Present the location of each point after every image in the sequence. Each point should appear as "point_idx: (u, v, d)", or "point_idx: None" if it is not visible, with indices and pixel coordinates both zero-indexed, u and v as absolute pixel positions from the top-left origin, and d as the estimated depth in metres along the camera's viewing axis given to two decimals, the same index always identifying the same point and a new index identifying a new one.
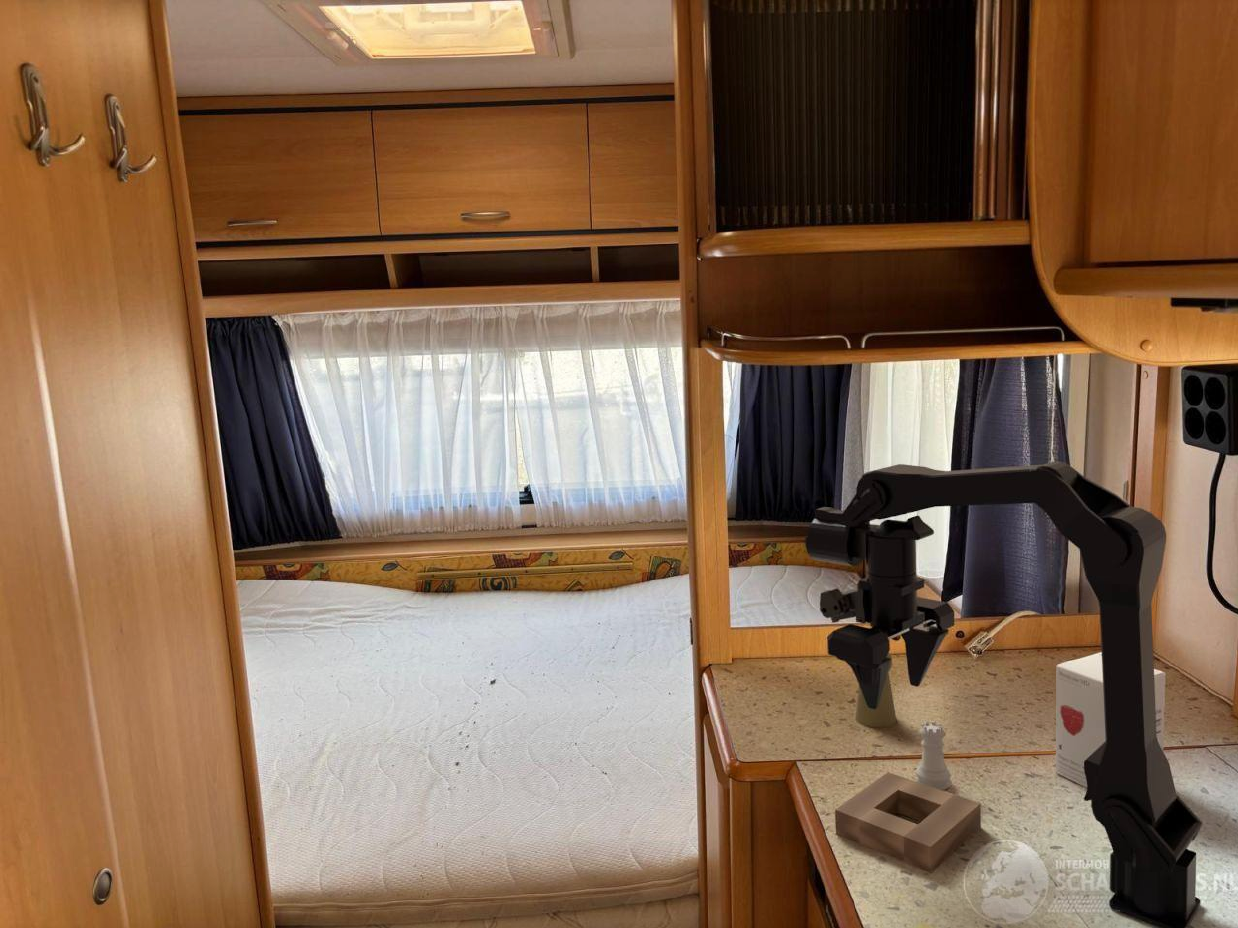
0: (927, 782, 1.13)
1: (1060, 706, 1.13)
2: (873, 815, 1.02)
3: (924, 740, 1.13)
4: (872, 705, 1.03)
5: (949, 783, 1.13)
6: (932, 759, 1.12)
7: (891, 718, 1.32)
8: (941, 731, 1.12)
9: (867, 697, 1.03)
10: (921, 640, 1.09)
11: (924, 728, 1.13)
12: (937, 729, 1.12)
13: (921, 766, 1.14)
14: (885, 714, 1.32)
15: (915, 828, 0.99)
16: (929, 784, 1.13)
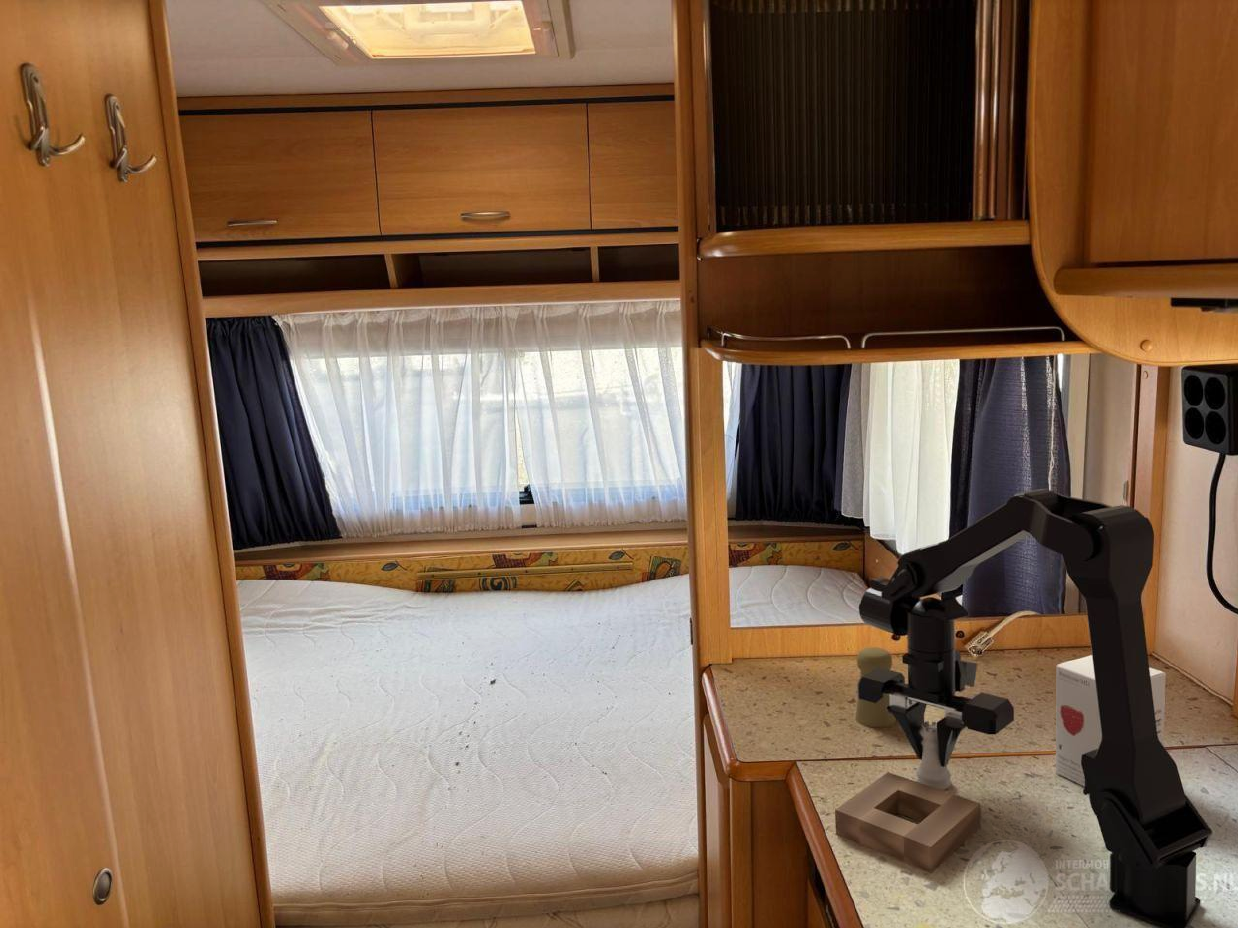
0: (927, 782, 1.13)
1: (1060, 706, 1.13)
2: (873, 815, 1.02)
3: (924, 740, 1.13)
4: None
5: (949, 783, 1.13)
6: (932, 759, 1.12)
7: (891, 718, 1.32)
8: None
9: None
10: None
11: (924, 728, 1.13)
12: None
13: (921, 766, 1.14)
14: (886, 714, 1.32)
15: (915, 828, 0.99)
16: (929, 784, 1.13)
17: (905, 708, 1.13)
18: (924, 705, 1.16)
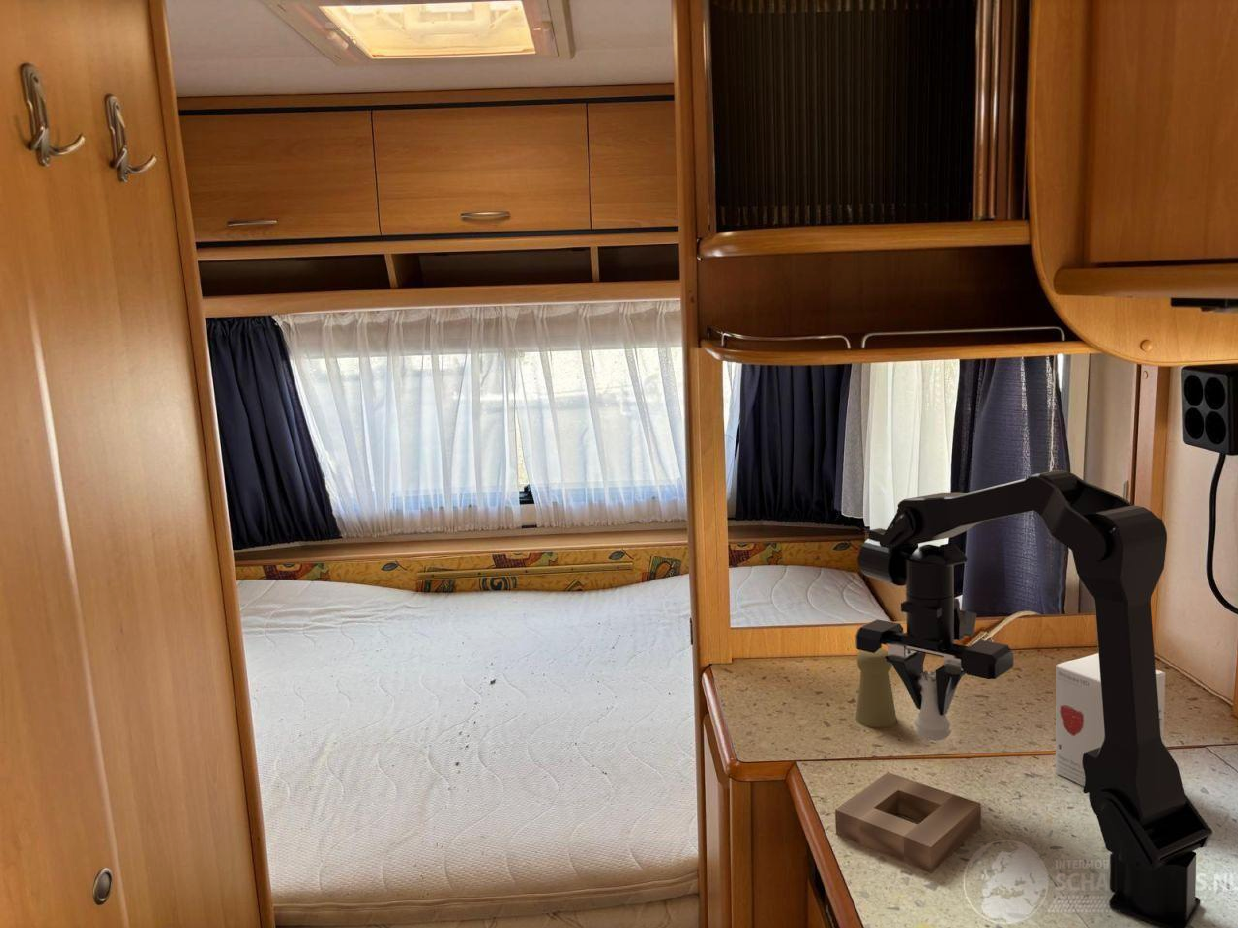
0: (925, 731, 1.12)
1: (1060, 706, 1.13)
2: (873, 815, 1.02)
3: (923, 689, 1.12)
4: None
5: (948, 732, 1.12)
6: (931, 708, 1.12)
7: (891, 718, 1.32)
8: None
9: None
10: None
11: (923, 677, 1.12)
12: None
13: (920, 716, 1.13)
14: (885, 714, 1.32)
15: (915, 828, 0.99)
16: (928, 733, 1.12)
17: (904, 657, 1.13)
18: (923, 655, 1.15)
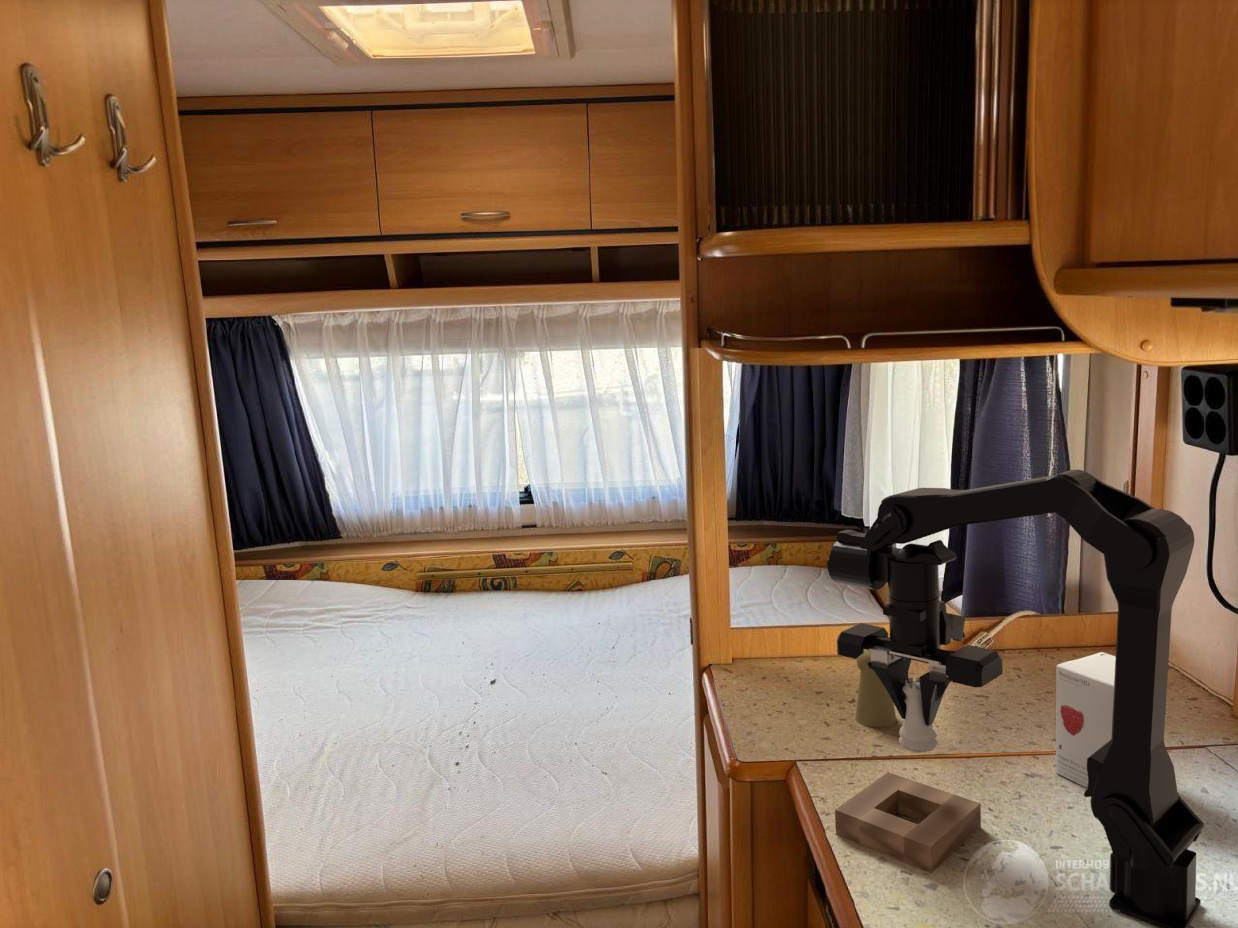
0: (910, 742, 1.05)
1: (1060, 706, 1.13)
2: (873, 815, 1.02)
3: (907, 697, 1.06)
4: None
5: (935, 743, 1.05)
6: (916, 718, 1.05)
7: (891, 718, 1.32)
8: None
9: None
10: None
11: (907, 684, 1.05)
12: None
13: (905, 725, 1.06)
14: (886, 714, 1.32)
15: (915, 828, 0.99)
16: (913, 744, 1.05)
17: (887, 663, 1.06)
18: (908, 661, 1.08)
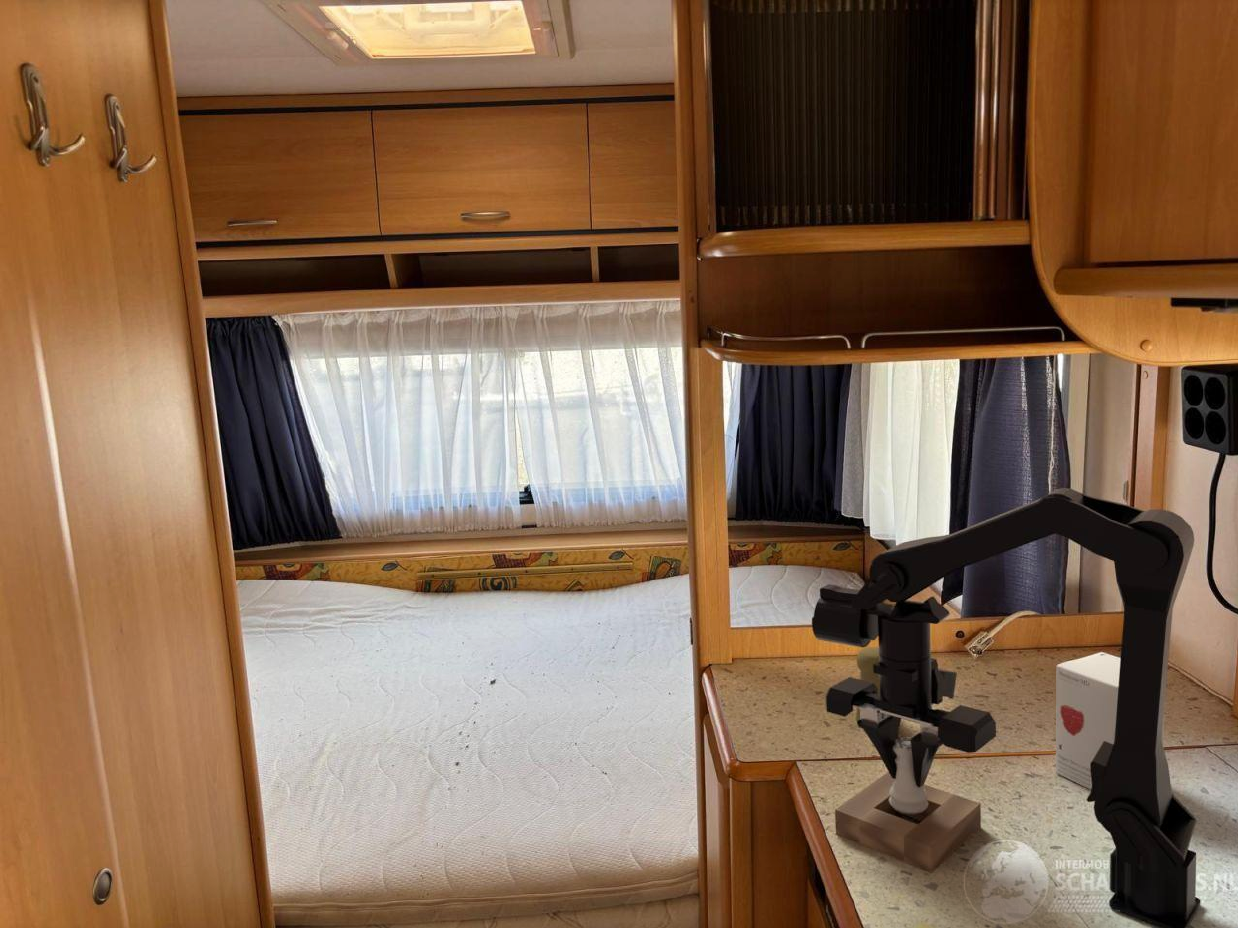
0: (901, 804, 1.02)
1: (1060, 706, 1.13)
2: (873, 815, 1.02)
3: (898, 757, 1.02)
4: None
5: (926, 805, 1.02)
6: (907, 779, 1.02)
7: None
8: None
9: None
10: None
11: (898, 744, 1.02)
12: None
13: (895, 786, 1.03)
14: None
15: (915, 828, 0.99)
16: (903, 806, 1.02)
17: (877, 722, 1.03)
18: (898, 719, 1.05)
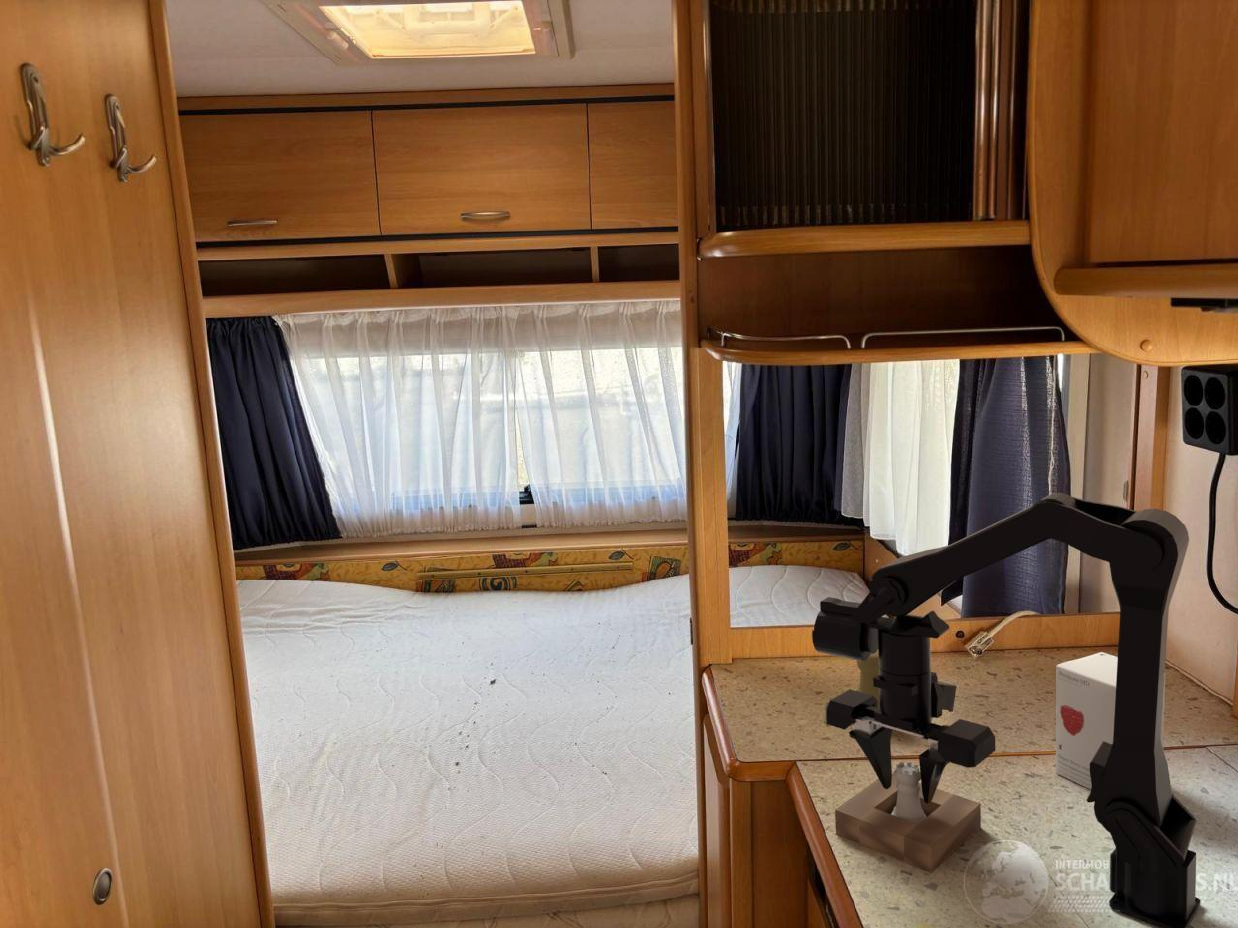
0: None
1: (1060, 706, 1.13)
2: (873, 815, 1.02)
3: (899, 783, 1.03)
4: None
5: None
6: (908, 804, 1.02)
7: None
8: (917, 773, 1.02)
9: None
10: None
11: (899, 770, 1.02)
12: (913, 771, 1.02)
13: (896, 811, 1.03)
14: None
15: (915, 828, 0.99)
16: None
17: (869, 733, 1.04)
18: (890, 729, 1.06)
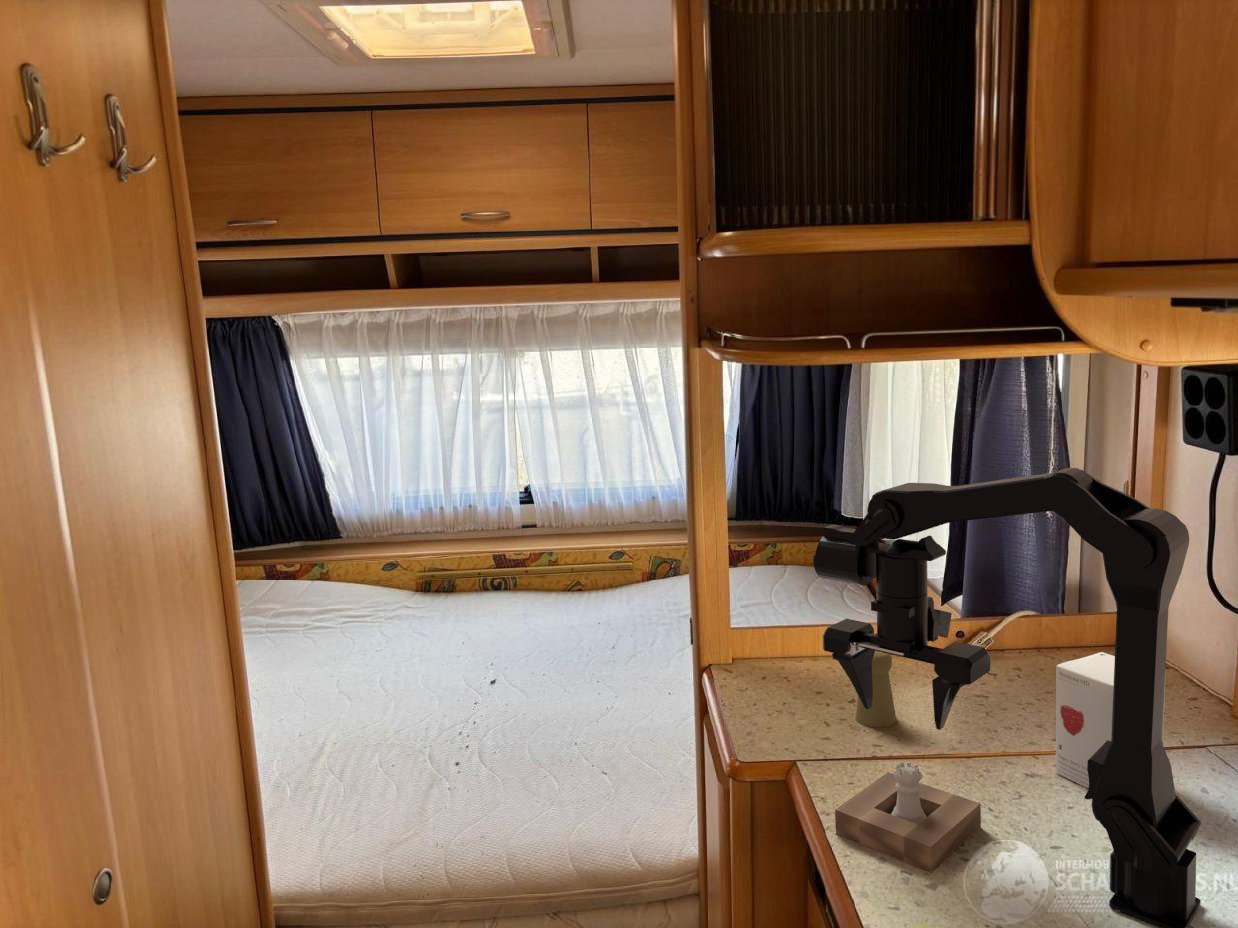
0: None
1: (1060, 706, 1.13)
2: (873, 815, 1.02)
3: (899, 783, 1.03)
4: None
5: None
6: (908, 805, 1.02)
7: (891, 718, 1.32)
8: (917, 773, 1.02)
9: None
10: None
11: (899, 770, 1.02)
12: (913, 771, 1.02)
13: (896, 812, 1.03)
14: (886, 714, 1.32)
15: (915, 828, 0.99)
16: None
17: (851, 654, 1.07)
18: (872, 652, 1.09)
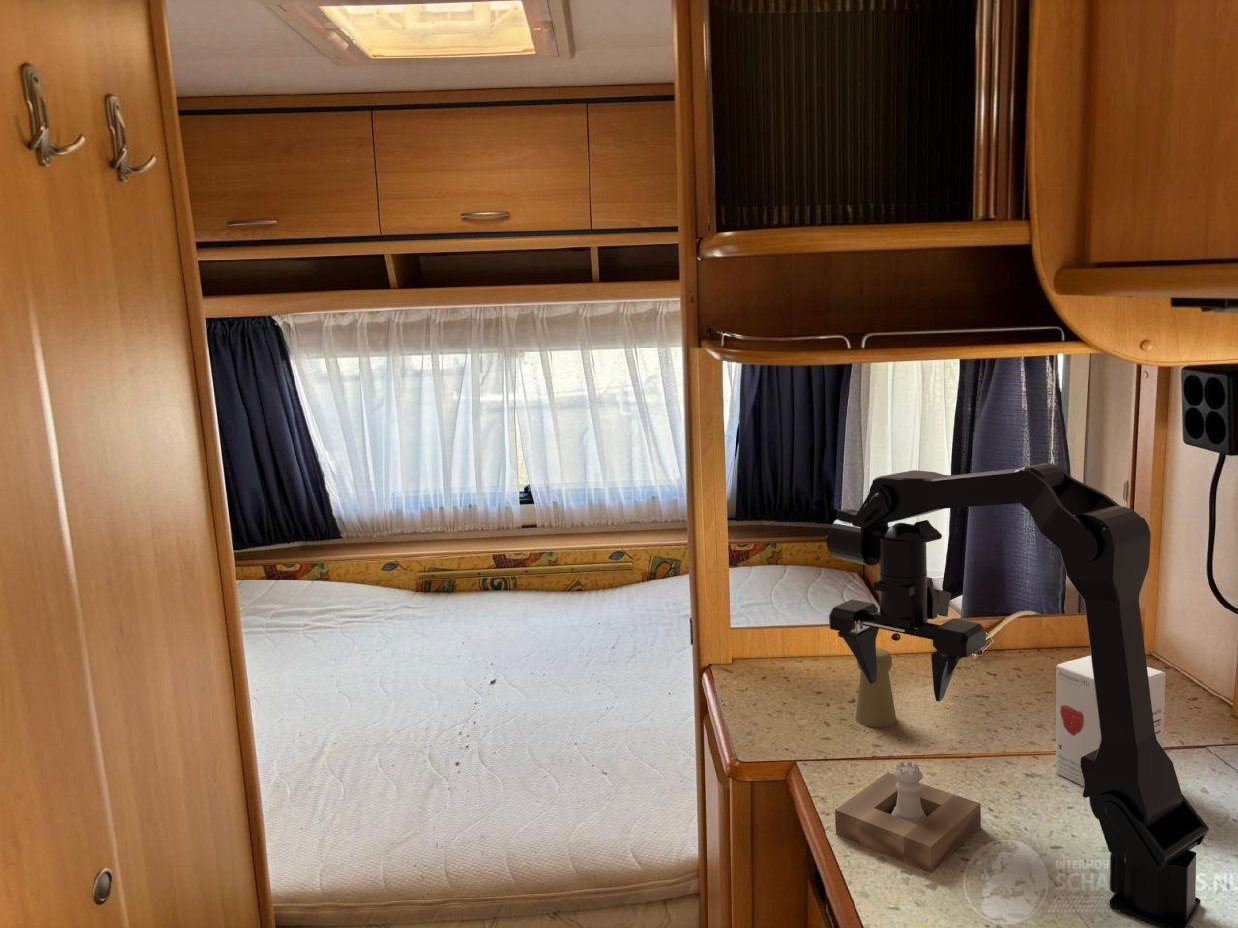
0: None
1: (1060, 706, 1.13)
2: (873, 815, 1.02)
3: (899, 783, 1.03)
4: None
5: None
6: (908, 804, 1.02)
7: (891, 718, 1.32)
8: (918, 773, 1.02)
9: None
10: None
11: (899, 770, 1.02)
12: (913, 771, 1.02)
13: (896, 811, 1.03)
14: (885, 714, 1.32)
15: (915, 828, 0.99)
16: None
17: (856, 632, 1.14)
18: (876, 631, 1.16)
